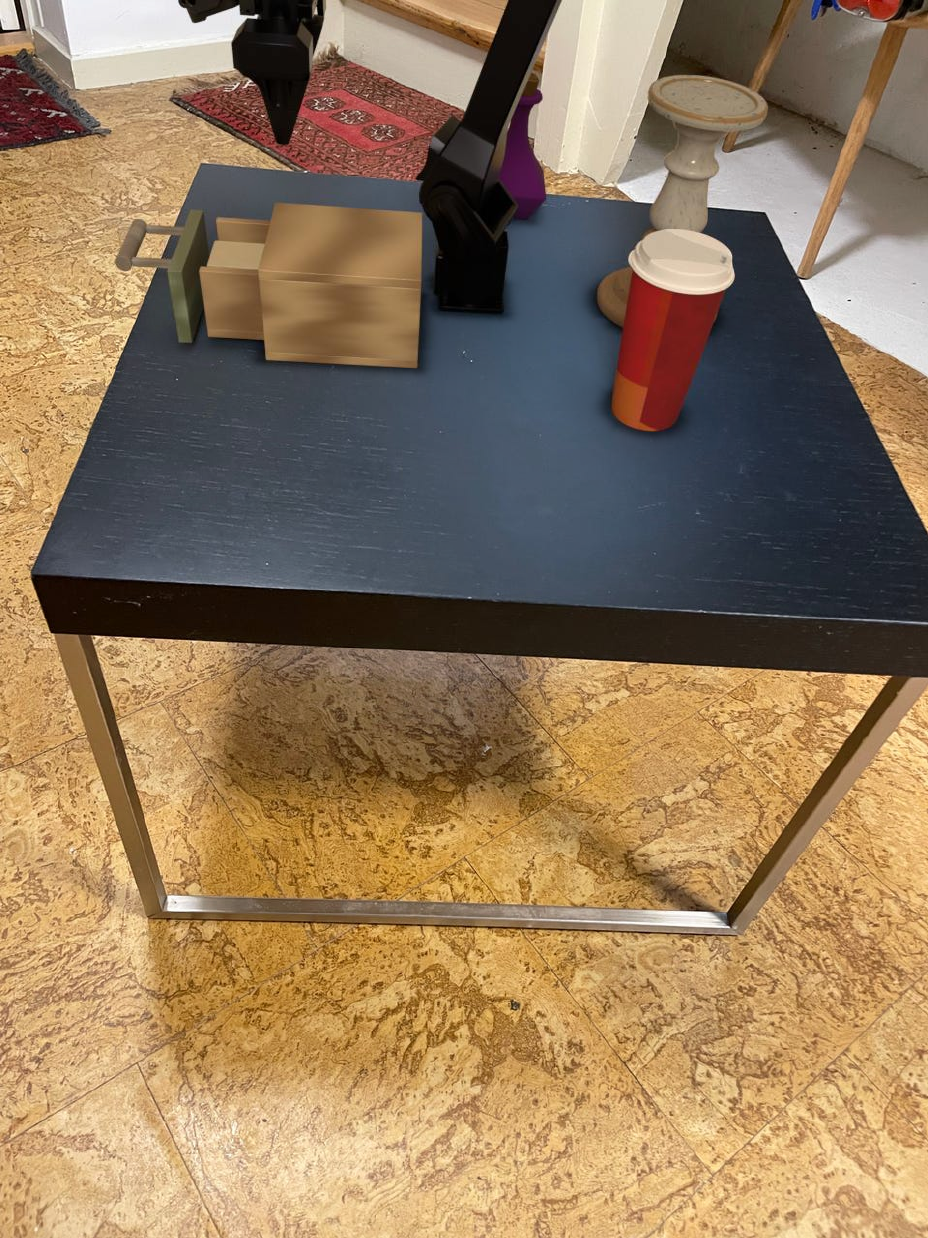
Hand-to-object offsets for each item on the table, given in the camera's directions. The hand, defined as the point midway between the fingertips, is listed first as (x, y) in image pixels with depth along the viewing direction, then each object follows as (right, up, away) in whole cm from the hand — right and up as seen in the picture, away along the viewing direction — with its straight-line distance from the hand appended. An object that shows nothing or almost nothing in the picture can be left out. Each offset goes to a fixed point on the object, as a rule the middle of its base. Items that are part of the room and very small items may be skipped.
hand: (288, 123), depth 89 cm
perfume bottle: (+22, +1, +21) cm, 30 cm away
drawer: (-5, -18, 0) cm, 18 cm away
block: (-6, -15, -3) cm, 17 cm away
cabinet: (+5, -19, +1) cm, 19 cm away
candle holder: (+36, -15, +8) cm, 40 cm away
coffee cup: (+32, -28, -4) cm, 43 cm away
